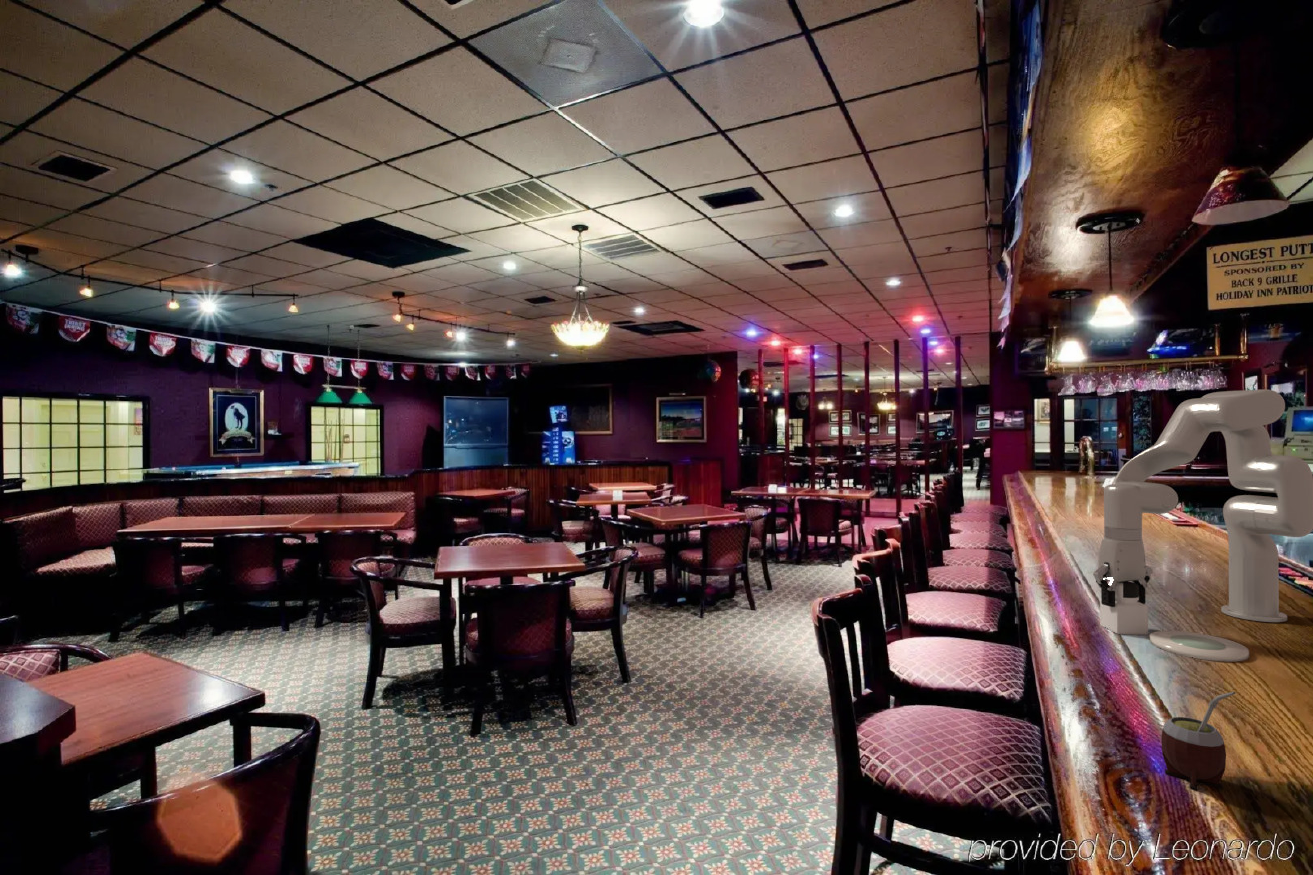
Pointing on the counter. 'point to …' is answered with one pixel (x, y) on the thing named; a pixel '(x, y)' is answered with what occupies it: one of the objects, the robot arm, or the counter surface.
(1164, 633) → the plate
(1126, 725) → the counter surface
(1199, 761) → the mate gourd
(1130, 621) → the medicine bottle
